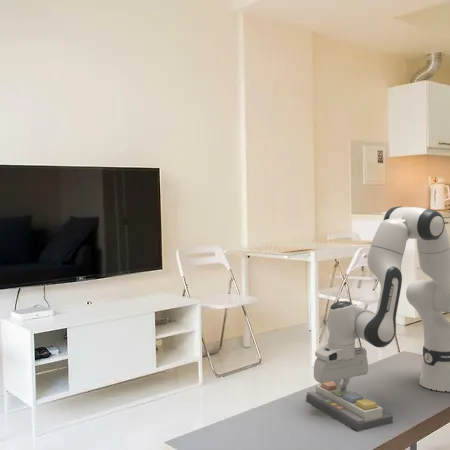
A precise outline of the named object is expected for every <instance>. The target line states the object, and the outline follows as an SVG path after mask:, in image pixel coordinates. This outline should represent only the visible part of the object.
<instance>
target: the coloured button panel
mask: <svg viewBox="0 0 450 450" xmlns="http://www.w3.org/2000/svg"><path fill="white" fill-rule="evenodd" d="M333 391H337V390H332V391H327V390H325V389H323V388H322V387H321V384H318V385H315V391H308V392H307V394H306V399H305V400H306V402H307V403H309V404H311V405H312V406H314V407H315V408H318V409H319V410H321V411H323V412H324V413H326V414H327V415H329V416H330V417H332V418H334V419H335V420H337V421H339V422H341V423H342V424H345V426H347V427H350V428H351V429H353V430H354V431H356V432H360V431H363V430H368V429H372V428H376V427H380V426H384V425H388V424H392V423H393V422H394V421H393V415H391V414H389V413H387V412H385V411H383V407H381V406H379V405H377V404H376V408H375V409H370V410H366V411H365V410H363V409H361V408H359V407H357V406H356V403H353V404H352V403H350V402H348V401H346V400H344V397H338V396H337V395H335V394H333V393H332V392H333ZM346 392H348V393H353V392H352V391H349V390H348V389H347V391H346ZM363 399H365V398H364V397H363Z"/></svg>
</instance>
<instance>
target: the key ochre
mask: <svg viewBox="0 0 450 450" xmlns="http://www.w3.org/2000/svg"><path fill="white" fill-rule="evenodd" d="M376 405H377V403H376V402H375V401H374V400H372V399H368V398H364V399H362V400H358V401H356V406H357V407H359V408H361V409H363V410H365V411H366V410H370V409H375V408H376Z"/></svg>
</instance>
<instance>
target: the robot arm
mask: <svg viewBox="0 0 450 450" xmlns="http://www.w3.org/2000/svg"><path fill="white" fill-rule="evenodd" d="M409 239H411V240H416V247H417V255H418V261H419V267H420V270H421V271H422V273H424V274H425V275H426V276H428V277H429V278H430V279H418V280H412V281H411V282H409V284H408V285H407V288H406V292H405V297H406V299H407V301H408V302H407V303H409V304H410V305H411V307H413V308H414V309H415V310H416V313H418V315H419V317H420V320H421V322H422V323H421V324H422V326H423V346H422V356H423V357H422V363H421V371H420V374H419V382H418V384H419V385H420V386H422V387H424V388H426V389H429V390H431V389H432V391H436V390H437V392H445V391H447V392H448V393H450V321H449V320H447V319H446V317H445V316H444V315H443V313H450V239H449V234H448V231H447V228H446V224H445V219H444V217H443V215H442V214H441V213H440V212H439V211H437V210H436V209H435V210H434V209H431V208H423V207H420V206H419V207H418V206H417V207H416V206H412V207H411V206H393V207H391V208H389V209H388V210H387V212H386V213H385V215H384V216H383V220H382V221H381V223H380V224H379V226H378V228H377V230H376V232H375V234H374V237H373V239H372V240H371V241H372V242H371V244H370V248H369V250H368V255H367V266H368V268H369V270H370V271H371V272H372V274H373V275H374V276H375V277H376V278H377V280H378V282H379V284H380V292H379V298H378V303H377V308H376V311H375V312H373V311H371V310H368V309H364V308H361V307H359V306H357V305H355V304H353V302H352V301H347V300H342V301H341V300H340V301H337V302H334V303H333V304H332V303H331V305H330V306H329V310H328V315H327V316H328V317H327V330H328V331H327V332H328V338H327V339H328V340H327V343H326V344H325V345H324V346H322V347H320V348H319V349H317V350H315V353H314V355H315V360H314V364H313V378H314V380H315V381H316V382H318V383H319V384H321V383H326V382H331V381H333V382H334V383H335V384H336V386H337V391H338V392H343V391H347V390H348V389H347V388H348V385H349V383H350V381H351V378H354V377H359V376H366V375H367V374H368V372H369V362H368V357H367V355H368V353H367V349H366V348H365V347H363V346H359V347H356V340H357V339H361V340H364V341H365V342H368V343H369V344H370V345H372V346H374V347H376V348H385V347H387V346H389V344H391V343H392V341H393V340H394V339H395V337H396V332H397V313H398V308H399V307H398V306H399V302H400V301H399V300H400V296H401V290H402V283H403V274H402V271H401V270H402V262H403V257H404V255H405V251H406V250H405V249H406V246H407V241H408V240H409ZM431 279H432V280H431ZM341 382H342V384H341ZM447 392H446V393H447Z"/></svg>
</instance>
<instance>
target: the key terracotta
mask: <svg viewBox="0 0 450 450" xmlns="http://www.w3.org/2000/svg"><path fill="white" fill-rule="evenodd" d="M320 385H321V387H322V388H323V389H325V390H327V391H332V390H337V386H336V384H335V383H334V381H331V382H326V383H320Z"/></svg>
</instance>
